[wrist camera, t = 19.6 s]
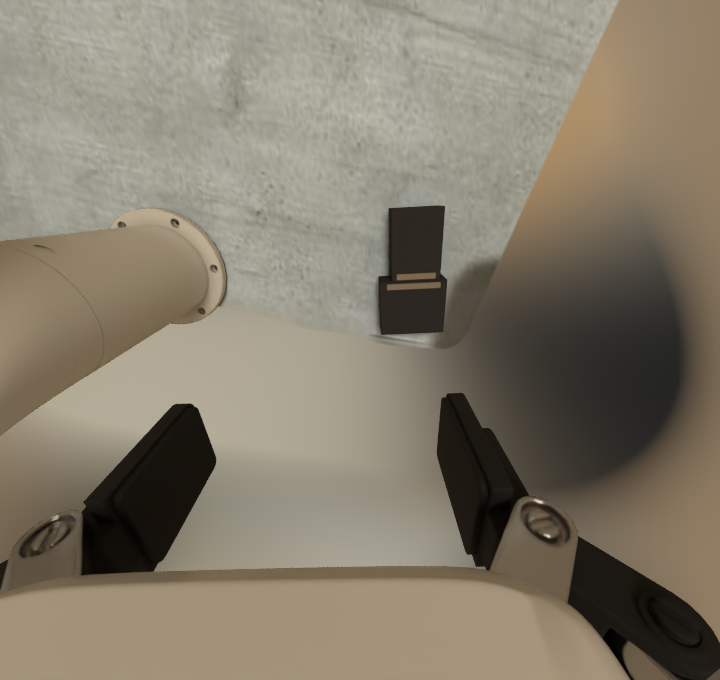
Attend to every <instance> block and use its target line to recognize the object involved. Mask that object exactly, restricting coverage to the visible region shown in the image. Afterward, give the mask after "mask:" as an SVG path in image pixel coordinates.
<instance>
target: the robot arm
mask: <svg viewBox="0 0 720 680" xmlns="http://www.w3.org/2000/svg"><path fill="white" fill-rule="evenodd" d="M178 222H179V224H178ZM216 266H217V268H218V269H217V268H216ZM225 289H226V272H225V267H224V263H223V260H222V258H221V255H220V253H219V251H218V250H217V248H216V246H215V245H214V243H213V242H212V240H211V239H210V238H209V237H208V236H207V234H206V233H205V232H204V231H203V230H202V229H200V228H199V227H198V226H197V225H196V224H195V223H193V222H192V221H190V220H189V219H187V218H185V217H184V216H181V215H179V214H177V213H175V212H172V211H168V210H164V209H158V208H143V209H135V210H132V211H129V212H126V213H125V214H123V215H121V216H120V217H118V218H117V219H116V220H115V221H114V222H113V223H112V224H111V226H110V228H109V229H106V230H97V231H88V232H79V233H69V234H60V235H51V236H42V237H33V238H24V239H15V240H6V241H0V436H1V435H2V434H3V433H4V432H6V431H7V430H8V429H9V428H11V427H12V426H13V425H15V424H16V423H17V422H19V421H20V420H22V419H23V418H24V417H26V416H27V415H28V414H30V413H31V412H33V411H34V410H35V409H37V408H38V407H40V406H41V405H43V404H44V403H46V402H47V401H49V400H50V399H52V398H53V397H54V396H56V395H58V394H59V393H61V392H62V391H64V390H65V389H67V388H68V387H70V386H71V385H73V384H75V383H76V382H78V381H79V380H81V379H83V378H84V377H86V376H88V375H89V374H91V373H92V372H94V371H96V370H97V369H99V368H100V367H102V366H103V365H105V364H106V363H108V362H110V361H111V360H113V359H114V358H116V357H118V356H119V355H121V354H122V353H124V352H125V351H127V350H129V349H130V348H132V347H133V346H135V345H136V344H138V343H140V342H141V341H143V340H144V339H146V338H147V337H149V336H150V335H152V334H154V333H155V332H157V331H158V330H160V329H162V328H163V327H165V326H166V325H168V324H169V323H172V324H187V323H193V322H196V321H199V320H202V319H203V318H205V317H206V316H208V315H209V314H211V313H212V312H213V311H214V310H215V309H216V308H217V307H218V305H219V304H220V303H221V301H222V299H223V296H224V294H225ZM204 309H205V310H204ZM437 457H438V461H439V464H440V468H441V471H442V474H443V478H444V481H445V485H446V488H447V491H448V495H449V498H450V501H451V505H452V508H453V511H454V515H455V518H456V522H457V525H458V528H459V531H460V535H461V538H462V542H463V545H464V548H465V551H466V553H467V554H468V555H470V554H472V556H473V559H474V562H475V565H476V567H481V566H485V567H486V570H482V569H475V568H465V567H446V566H376V567H323V568H276V569H234V570H199V571H198V570H197V571H166V572H165V571H163V572H153V571H154V569H155V568H156V566H157V564H158V562H161V561H162V560H163V559H164V558H165V556H166V555H167V553H168V551H169V549H170V547H171V545H172V544H173V542H174V540H175V538H176V536H177V535H178V533H179V531H180V529H181V527H182V525H183V524H184V522H185V520H186V518H187V516H188V515H189V513H190V511H191V509H192V507H193V505H194V504H195V502H196V500H197V498H198V496H199V495H200V493H201V491H202V489H203V487H204V486H205V484H206V482H207V480H208V478H209V476H210V474H211V473H212V471H213V469H214V467H215V465H216V457H215V454H214V451H213V448H212V445H211V443H210V440H209V437H208V434H207V432H206V429H205V426H204V424H203V421H202V418H201V416H200V413H199V410H198V408H196V407H194V406H193V405H192V404H175V405H173V406H172V407H171V408H170V409H169V410H168V411H167V412H166V413H165V414H164V415H163V417H162V418H161V419H160V420H159V421H158V422H157V423H156V424H155V425H154V426H153V427H152V429H151V430H150V431H149V432H148V433H147V434H146V435H145V436H144V437H143V438H142V439H141V440H140V441H139V442H138V444H137V445H136V446H135V447H134V448H133V449H132V450H131V451H130V452H129V453H128V454H127V456H126V457H125V458H124V459H123V460H122V461H121V462H120V463H119V464H118V465H117V466H116V467H115V468H114V470H113V471H112V472H111V473H110V474H109V475H108V476H107V477H106V478H105V479H104V481H103V482H102V483H101V484H100V485H99V486H98V487H97V488H96V489H95V490H94V491H93V492H92V493H91V494H90V495H89V497H88V498H87V499H86V500H85V501H84V504H85V505H86V508H85V509H84V510H83V511H82V512H80V511H78V510H66V511H62V512H59V513H56V514H54V515H51V516H49V517H48V518H46V519H44V520H42V521H41V522H39V523H38V524H36V525H35V526H33V527H32V528H31V529H30V530H28V531H27V532H26V533H25V534H24V535H23V536H22V537H21V538H20V539H19V540H18V542H17V543H16V544H15V545H14V547H13V549H12V551H11V553H10V556H9V559H8V560H6V561H5V562H3V563H1V564H0V680H720V643H719V641H718V639H717V637H716V635H715V634H714V632H713V630H712V629H711V628H710V626H709V625H708V624H707V623H706V621H705V620H704V619H703V618H702V617H701V616H700V614H698V613H697V612H696V611H695V610H694V609H693V608H692V607H691V606H690V605H689V604H688V603H686V602H685V601H683V600H682V599H681V598H679V597H678V596H676V595H675V594H673V593H672V592H670V591H669V590H667V589H665V588H664V587H662V586H660V585H658V584H656V583H655V582H654V581H652V580H650V579H649V578H647V577H645V576H643V575H642V574H640V573H638V572H637V571H635V570H633V569H632V568H630V567H629V566H627V565H625V564H624V563H622V562H620V561H619V560H617V559H615V558H614V557H612V556H610V555H609V554H607V553H605V552H604V551H602V550H600V549H599V548H597V547H595V546H594V545H592V544H590V543H589V542H587V541H585V540H584V539H582V538H580V537H579V536H578V531H577V529H576V527H575V524H574V522H573V521H572V519H571V518H570V517H569V515H568V514H567V513H566V512H564V510H562V509H561V508H560V507H559V506H557V505H556V504H554V503H553V502H551V501H549V500H546V499H544V498H541V497H536V496H529V494H528V493H527V491H526V489H525V487H524V486H523V484H522V482H521V480H520V479H519V477H518V475H517V473H516V472H515V470H514V468H513V466H512V465H511V463H510V461H509V459H508V458H507V456H506V454H505V452H504V451H503V449H502V447H501V445H500V444H499V442H498V440H497V438H496V437H495V435H494V433H493V432H492V430H491V429H489V428H482V427H481V425H480V423H479V421H478V420H477V418H476V416H475V414H474V412H473V410H472V409H471V406H470V405H469V403H468V401H467V399H466V397H465V395H464V394H463V393H449V394H447V395H446V398H442V400H441V411H440V421H439V433H438V444H437Z"/></svg>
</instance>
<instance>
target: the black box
mask: <svg viewBox="0 0 720 680" xmlns="http://www.w3.org/2000/svg"><path fill="white" fill-rule="evenodd" d="M444 213H445V206H421V207H403V208H389V271H390V278H391V280H392V282H404V281H425V280H440V270H441V256H442V242H443V227H444Z"/></svg>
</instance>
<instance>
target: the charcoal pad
mask: <svg viewBox="0 0 720 680" xmlns="http://www.w3.org/2000/svg"><path fill="white" fill-rule="evenodd" d="M446 289H447V279H446V278H445V277H444V276H442V275H441V274H440V280H425V281H404V282H392V280H391V278H390V276H379V310H380V329H381V335H387V334H409V333H432V332H443V326H444V314H445V302H446Z"/></svg>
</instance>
